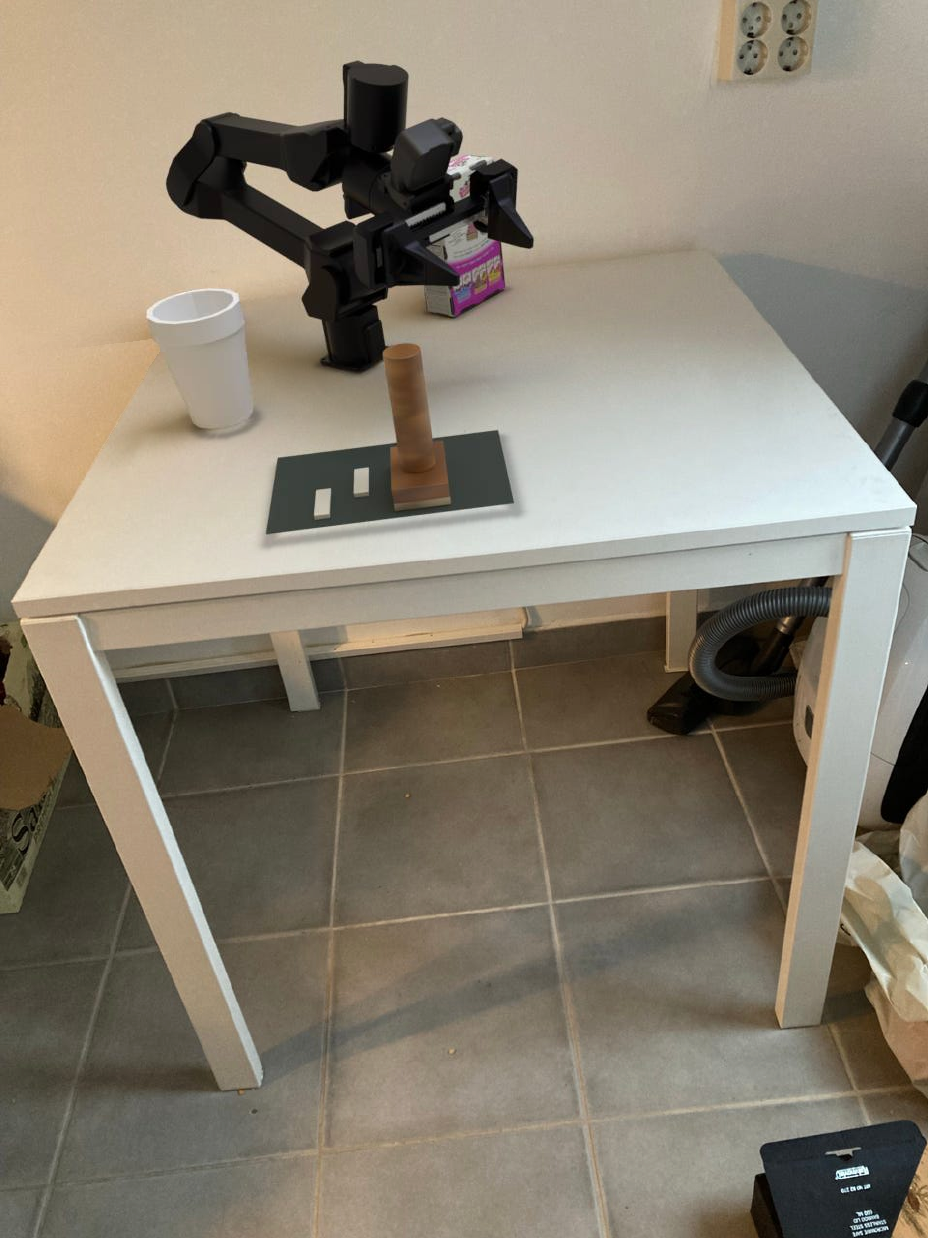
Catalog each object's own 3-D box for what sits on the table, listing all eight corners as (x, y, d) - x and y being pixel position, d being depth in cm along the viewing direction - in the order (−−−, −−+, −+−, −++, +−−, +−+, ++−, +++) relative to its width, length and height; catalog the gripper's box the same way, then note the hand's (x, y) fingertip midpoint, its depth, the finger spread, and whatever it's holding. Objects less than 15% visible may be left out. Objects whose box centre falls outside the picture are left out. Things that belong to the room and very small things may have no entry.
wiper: (395, 511, 87) (371, 374, 79) (393, 467, 93) (371, 335, 85) (451, 504, 87) (433, 366, 79) (445, 460, 93) (429, 328, 85)
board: (267, 543, 87) (265, 534, 86) (279, 466, 98) (277, 457, 97) (515, 512, 87) (514, 502, 86) (498, 438, 98) (498, 429, 97)
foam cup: (194, 452, 102) (157, 331, 94) (172, 419, 109) (136, 304, 101) (280, 424, 105) (251, 305, 97) (253, 395, 112) (224, 281, 104)
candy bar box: (477, 283, 133) (464, 153, 123) (506, 289, 130) (496, 156, 120) (423, 313, 126) (406, 177, 116) (453, 319, 124) (438, 181, 114)
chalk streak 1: (314, 520, 87) (313, 515, 87) (316, 494, 91) (315, 489, 90) (330, 518, 87) (329, 513, 87) (332, 492, 91) (331, 487, 90)
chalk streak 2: (354, 498, 90) (353, 493, 89) (354, 473, 93) (354, 468, 93) (369, 496, 90) (368, 491, 89) (369, 471, 93) (368, 467, 93)
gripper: (305, 143, 88) (415, 217, 81) (463, 80, 96) (576, 143, 89) (319, 254, 97) (419, 330, 90) (462, 188, 105) (565, 253, 98)
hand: (496, 261), depth 91 cm, fingers open, 9 cm apart
